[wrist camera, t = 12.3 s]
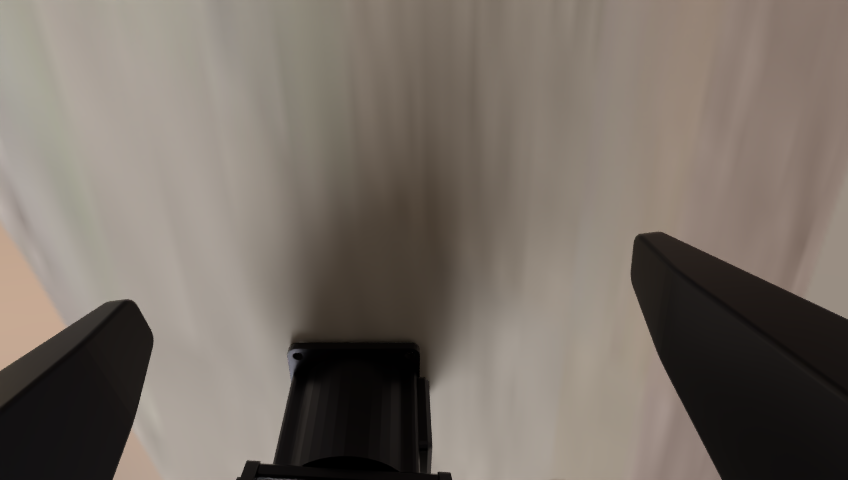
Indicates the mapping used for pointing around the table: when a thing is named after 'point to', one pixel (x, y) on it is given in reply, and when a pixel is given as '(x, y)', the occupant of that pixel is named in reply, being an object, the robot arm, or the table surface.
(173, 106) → the table surface
